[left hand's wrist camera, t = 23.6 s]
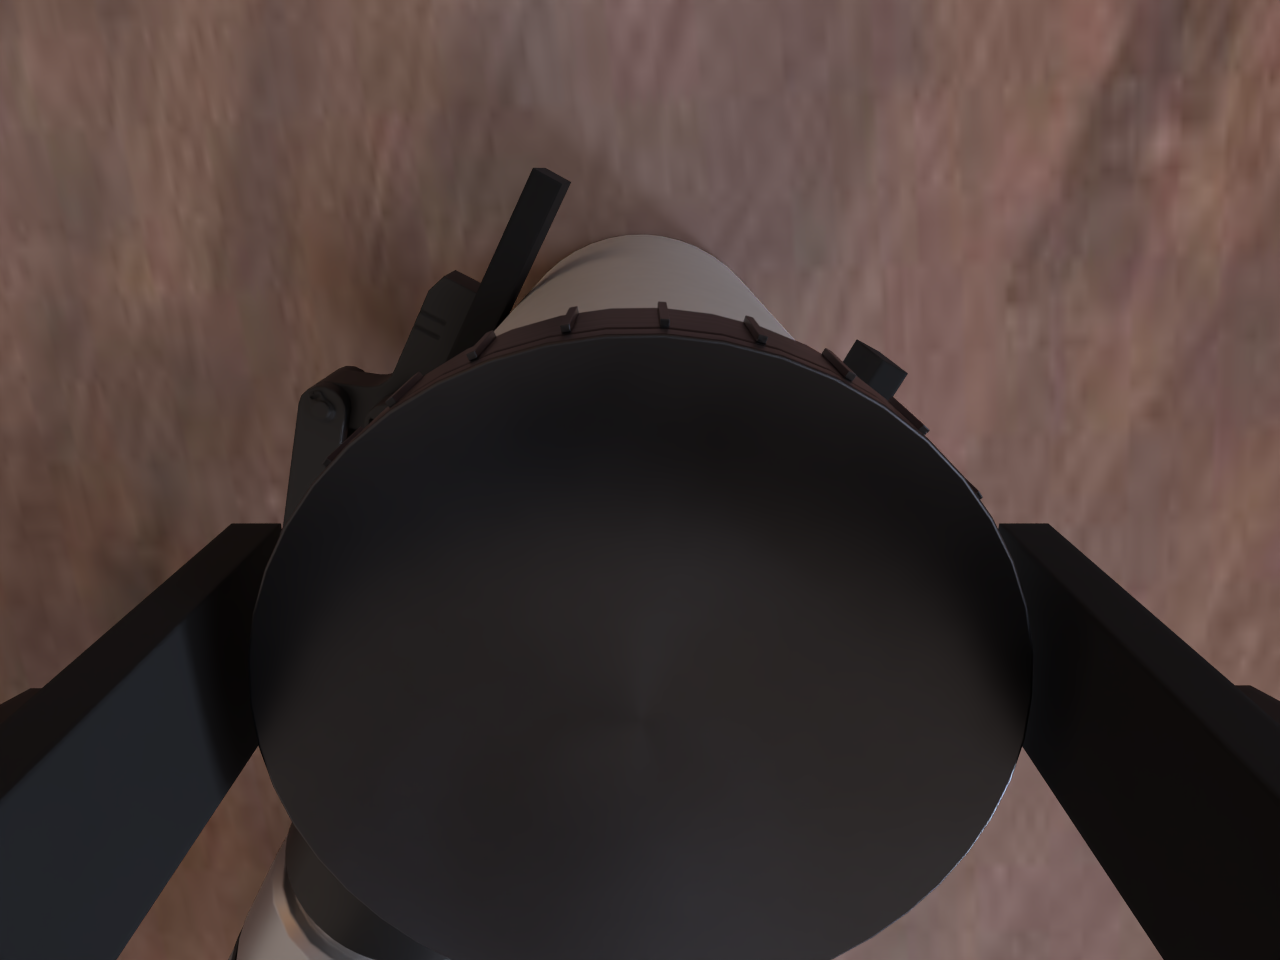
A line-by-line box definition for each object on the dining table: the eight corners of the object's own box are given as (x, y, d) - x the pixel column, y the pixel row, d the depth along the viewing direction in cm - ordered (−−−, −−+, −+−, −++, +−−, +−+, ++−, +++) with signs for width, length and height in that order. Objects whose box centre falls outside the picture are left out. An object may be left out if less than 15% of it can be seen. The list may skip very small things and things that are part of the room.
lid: (672, 126, 10) (679, 117, 8) (1112, 665, 12) (1190, 747, 11) (159, 620, 12) (78, 696, 10) (618, 989, 15) (615, 1101, 13)
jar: (620, 174, 26) (584, 184, 9) (826, 352, 28) (1114, 635, 11) (456, 388, 29) (184, 714, 12) (657, 539, 31) (679, 1010, 14)
